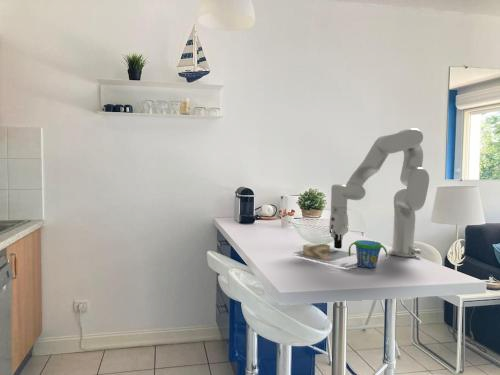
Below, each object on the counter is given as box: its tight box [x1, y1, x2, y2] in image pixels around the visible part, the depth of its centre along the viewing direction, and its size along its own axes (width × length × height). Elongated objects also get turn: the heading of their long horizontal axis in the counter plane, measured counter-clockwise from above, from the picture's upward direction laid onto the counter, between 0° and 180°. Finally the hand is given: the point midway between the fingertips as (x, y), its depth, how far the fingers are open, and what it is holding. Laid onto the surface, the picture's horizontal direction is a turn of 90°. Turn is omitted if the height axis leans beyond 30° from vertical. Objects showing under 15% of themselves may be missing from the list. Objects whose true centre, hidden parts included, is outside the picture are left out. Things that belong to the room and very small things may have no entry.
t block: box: [302, 243, 331, 259], centre depth 184 cm, size 11×10×4 cm
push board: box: [292, 248, 357, 262], centre depth 187 cm, size 20×23×1 cm
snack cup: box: [347, 239, 388, 269], centre depth 169 cm, size 16×10×10 cm
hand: (337, 248), depth 194 cm, fingers closed
